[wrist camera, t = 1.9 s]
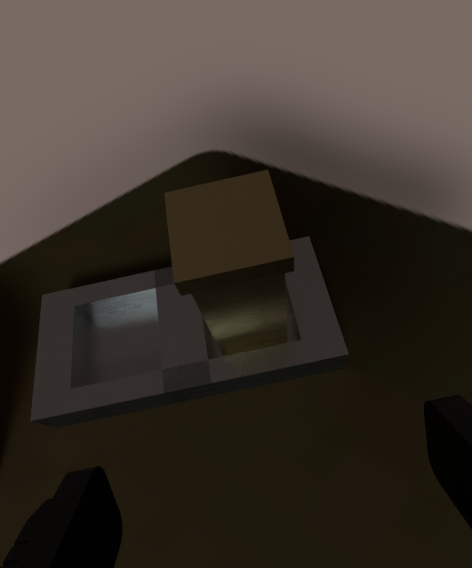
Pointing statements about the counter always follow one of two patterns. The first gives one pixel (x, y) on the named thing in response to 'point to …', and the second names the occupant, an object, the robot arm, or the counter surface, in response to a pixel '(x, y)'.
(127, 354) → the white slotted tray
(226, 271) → the brown square post
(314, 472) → the counter surface
